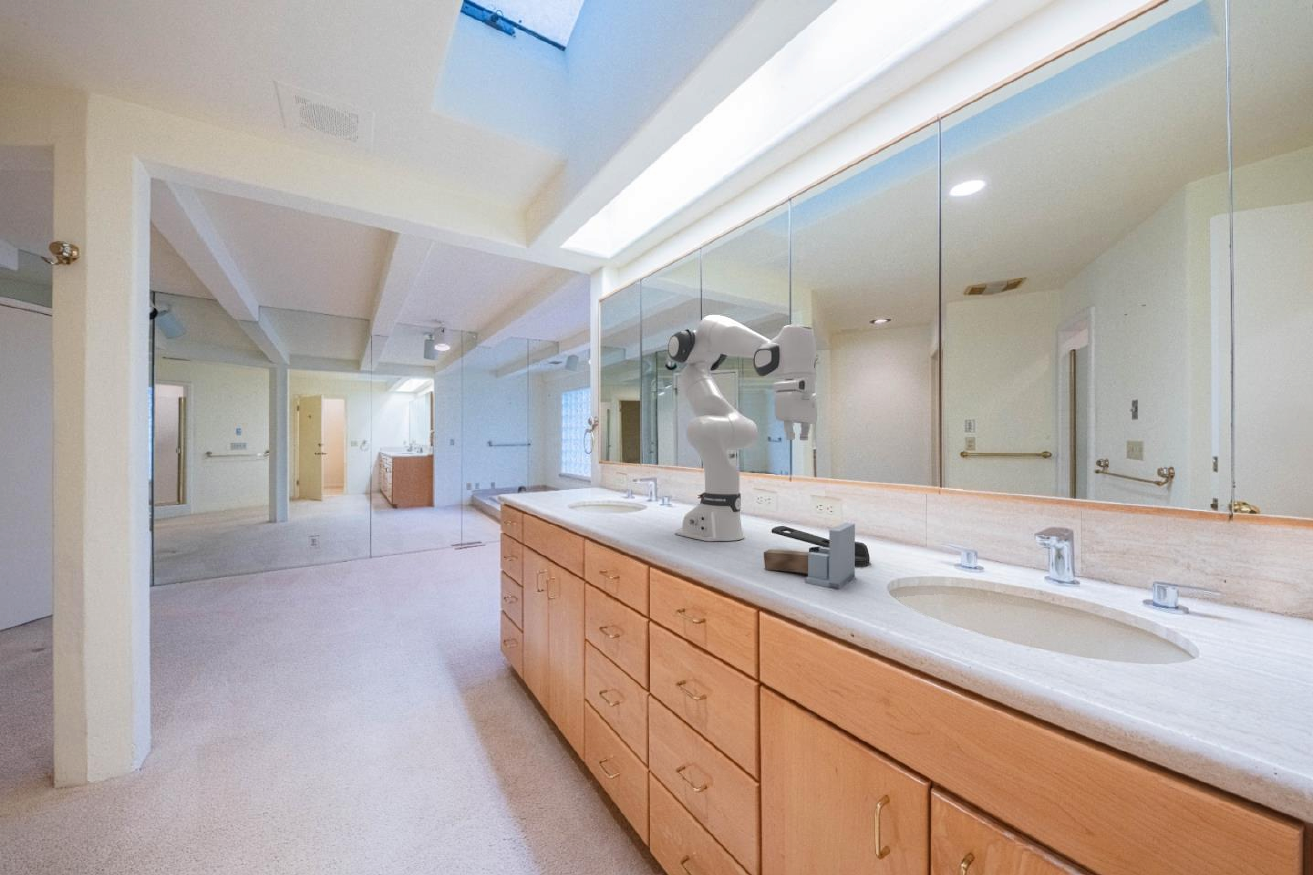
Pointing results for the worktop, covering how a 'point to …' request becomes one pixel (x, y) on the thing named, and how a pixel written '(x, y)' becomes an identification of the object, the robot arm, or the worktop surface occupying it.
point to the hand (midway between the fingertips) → (797, 440)
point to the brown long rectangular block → (786, 560)
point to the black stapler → (824, 543)
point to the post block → (834, 559)
